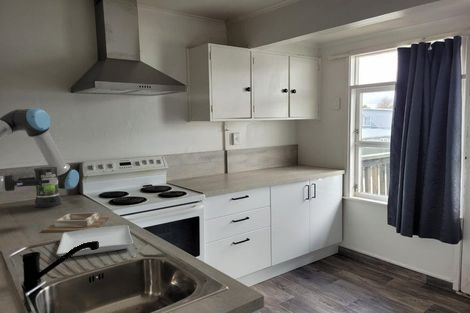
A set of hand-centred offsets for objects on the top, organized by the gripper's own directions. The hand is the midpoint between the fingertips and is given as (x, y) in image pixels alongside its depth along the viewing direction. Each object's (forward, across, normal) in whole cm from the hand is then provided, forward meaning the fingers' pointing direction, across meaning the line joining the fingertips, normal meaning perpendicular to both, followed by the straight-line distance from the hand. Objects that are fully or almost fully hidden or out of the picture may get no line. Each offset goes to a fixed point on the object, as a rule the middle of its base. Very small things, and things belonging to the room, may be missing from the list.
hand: (56, 179), depth 182 cm
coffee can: (-4, 0, -8) cm, 9 cm away
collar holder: (+8, +11, -22) cm, 26 cm away
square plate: (+11, +48, -23) cm, 54 cm away
